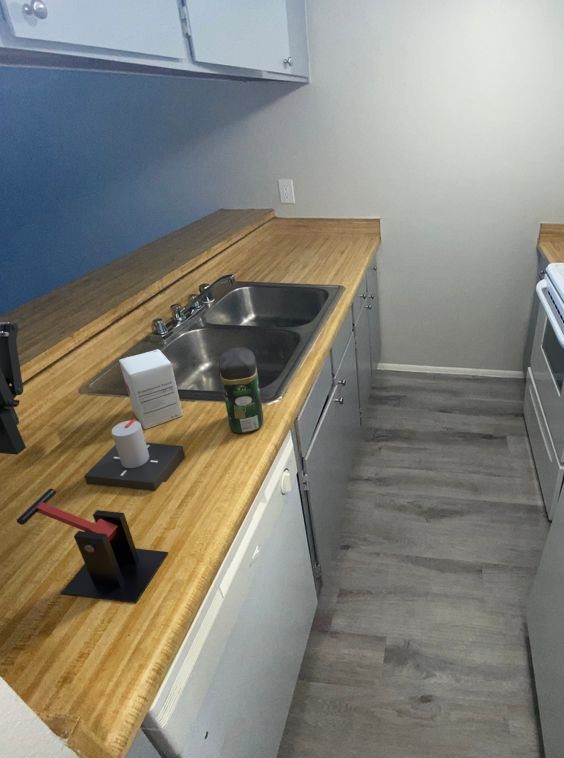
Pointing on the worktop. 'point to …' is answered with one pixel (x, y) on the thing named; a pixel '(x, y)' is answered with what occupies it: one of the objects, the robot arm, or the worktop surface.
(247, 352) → the coffee jar
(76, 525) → the red lever
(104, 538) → the black lever stand
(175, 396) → the white product box
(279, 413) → the worktop surface
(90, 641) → the worktop surface
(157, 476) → the dial panel
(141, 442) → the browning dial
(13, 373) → the robot arm
